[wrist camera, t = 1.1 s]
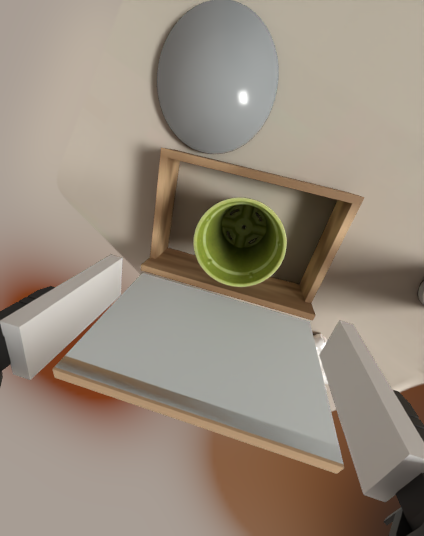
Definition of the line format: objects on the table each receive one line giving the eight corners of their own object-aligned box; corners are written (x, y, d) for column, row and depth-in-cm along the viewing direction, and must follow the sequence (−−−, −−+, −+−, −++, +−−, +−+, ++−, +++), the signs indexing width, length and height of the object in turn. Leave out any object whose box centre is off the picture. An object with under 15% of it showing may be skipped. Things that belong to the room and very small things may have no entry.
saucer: (168, -6, 23) (164, -13, 22) (297, 18, 22) (298, 12, 21) (155, 140, 28) (151, 139, 28) (256, 165, 27) (256, 165, 27)
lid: (52, 369, 16) (54, 377, 17) (344, 468, 15) (336, 473, 15) (142, 272, 28) (142, 279, 29) (309, 321, 26) (306, 327, 27)
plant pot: (196, 217, 32) (175, 235, 24) (253, 172, 28) (251, 176, 20) (235, 269, 34) (227, 300, 26) (293, 233, 30) (305, 258, 22)
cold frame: (175, 150, 28) (151, 145, 22) (348, 192, 27) (375, 201, 21) (162, 251, 35) (140, 270, 28) (302, 290, 33) (312, 320, 27)
